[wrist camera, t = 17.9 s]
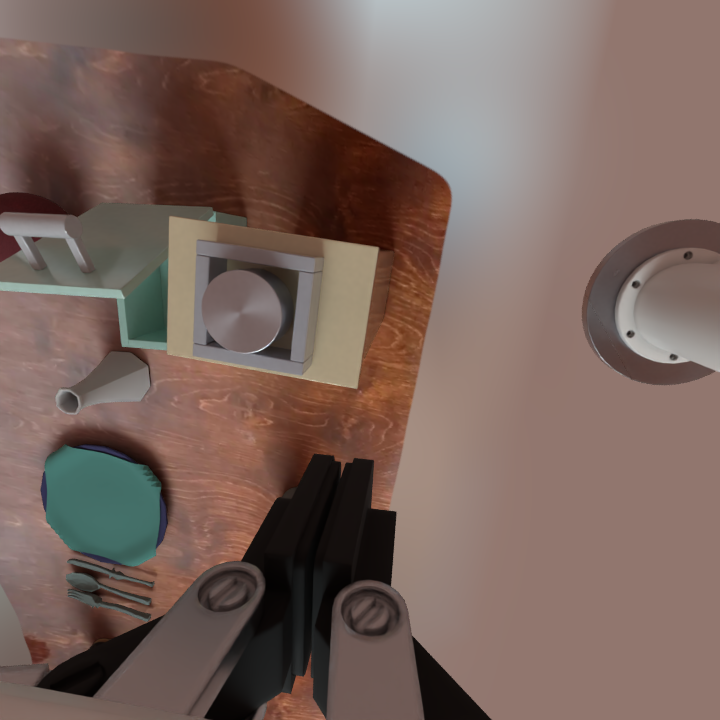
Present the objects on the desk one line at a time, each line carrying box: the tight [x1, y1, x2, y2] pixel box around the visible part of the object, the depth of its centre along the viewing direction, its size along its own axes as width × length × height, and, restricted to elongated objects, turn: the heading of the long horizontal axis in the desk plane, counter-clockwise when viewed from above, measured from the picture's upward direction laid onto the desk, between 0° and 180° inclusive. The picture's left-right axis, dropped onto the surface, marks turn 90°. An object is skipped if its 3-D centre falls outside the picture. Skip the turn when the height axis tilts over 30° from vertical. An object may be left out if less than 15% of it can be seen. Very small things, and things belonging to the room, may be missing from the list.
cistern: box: [167, 215, 395, 389], centre depth 36 cm, size 9×13×27 cm
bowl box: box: [117, 211, 247, 350], centre depth 47 cm, size 15×12×8 cm
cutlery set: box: [41, 444, 168, 622], centre depth 62 cm, size 20×30×2 cm, turn 168°
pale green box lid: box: [0, 203, 214, 299], centre depth 34 cm, size 16×12×5 cm
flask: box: [55, 351, 150, 415], centre depth 51 cm, size 7×7×10 cm
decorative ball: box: [0, 192, 69, 262], centre depth 47 cm, size 10×10×10 cm
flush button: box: [201, 268, 294, 354], centre depth 22 cm, size 4×4×2 cm
